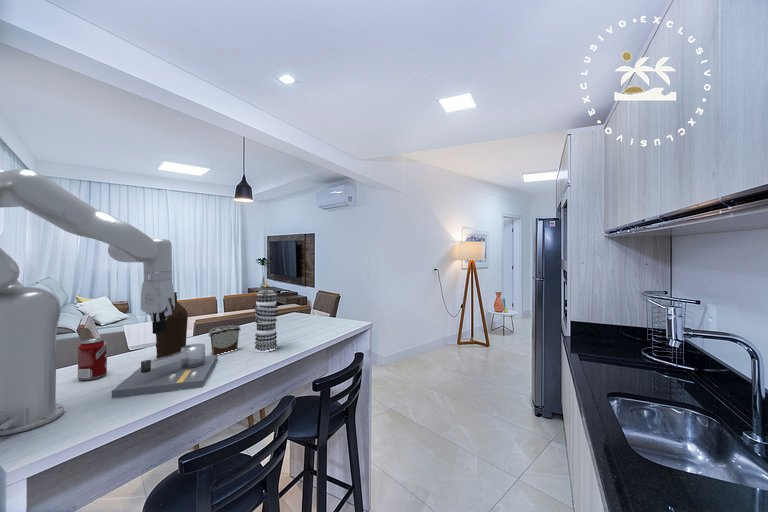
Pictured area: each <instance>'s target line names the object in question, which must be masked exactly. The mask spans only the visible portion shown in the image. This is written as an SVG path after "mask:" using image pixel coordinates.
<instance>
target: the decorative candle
mask: <svg viewBox="0 0 768 512" xmlns="http://www.w3.org/2000/svg"><path fill="white" fill-rule="evenodd" d="M255 295H256V301H255V304H256V306H255V307H254V314H255V316H254V318H255V320H254V322H255V324H256V329H255V334H254V335H255V338H254V339H255V341H254V344H255V346H254V348H255V350H256V349H257V350H260V351H265V350H270V349H274V348H275V347H276V348H277V346H278V344H277V342H278V340H277V337H278V336H277V334H278V332H277V327H276V326H277V325H276V323H277V322H278V319H277V318H276V317H278V310H276V309H277V308H278V307H279V306H278V303H277V293H276V292H275V291H274V290H272V289H261V290H259V291H257V293H256V294H255Z"/></svg>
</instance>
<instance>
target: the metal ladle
mask: <svg viewBox="0 0 768 512" xmlns="http://www.w3.org/2000/svg"><path fill="white" fill-rule="evenodd" d="M205 356H206V344H205V343H190V344H186V346H183V347H181V352H178V353H174V354H171V355H168V356H164V357H161V358H154V359H152V360H151V359H146V360H142V361H141V362H140V367H141V373H147V372H150V371H151V369H154V368H157V367H160V366H163V365H166V364H169V363H172V362H175V361H178V360H181V367H184V368H190V367H196V366H200V365H202V364H204V363H205Z"/></svg>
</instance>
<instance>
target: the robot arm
mask: <svg viewBox="0 0 768 512" xmlns="http://www.w3.org/2000/svg"><path fill="white" fill-rule="evenodd" d="M19 207H20V208H23V209H25V210H26V211H27V212H30V213H31V214H34V215H36V216H37V217H39V218H41V219H43V220H44V221H47V222H49V223H50V224H51V225H53V226H55V227H57V228H59V229H61V230H62V231H64V232H66V233H70V234H72V235H75V236H79V237H83V238H88V239H93V240H96V241H99V242H103V243H105V244H107V245H108V248H107V252H108V255H109V256H110V257H111V259H113V260H114V261H117V262H120V263H142V264H143V267H142V268H143V270H142V271H143V272H142V273H143V281H142V286H141V291H140V310H141V311H142V312H144V313H145V314H146V315H148V316H150V321H151V322H152V323H151V324H152V334H154V335H156V334H160V333H164V332H166V320H167V317H168V316H170V315H172V310H174V308H175V296H174V292H175V288H174V282H173V249H172V248H173V246H172V241H171V240H170V239H166V238H165V239H164V238H152V237H150V236H149V235H147V234H146V233H144V232H143V231H142V230H140V229H139V228H137V227H135V226H134V225H132V224H130V223H128V222H126V221H125V220H121V219H120V218H117V217H114V216H112V215H110V214H108V213H106V212H104V211H102V210H99V209H97V208H95V207H93V206H92V205H90V204H88V203H87V202H85V201H84V200H83V199H81V198H79V197H78V196H76V195H75V194H73V193H71V192H70V191H69V190H67V189H65V188H63V186H61V185H59V184H57V182H54V181H53V180H51V179H50V178H48V177H47V176H45V175H43V174H41V173H39V172H37V171H35V170H32V169H28V168H16V169H15V168H14V169H10V170H5V171H0V209H1V208H19ZM20 270H21V269H20V266H19V265H18V264H17V262H16V261H15V260H14V259H13V258H12V257H11V256H10V255H9V254H8V253H7V252H5V250H3V249H2V248H1V247H0V436H1V437H2V436H9V435H13V434H17V433H22V432H26V431H30V430H32V429H35V428H39V427H40V426H44V425H46V424H48V423H51V422H53V421H54V420H55V421H56V420H57V419H58V418H60V417H61V416H62V415H63V414H64V413H65V406H64V405H63V404H59V403H57V402H56V399H57V398H56V397H57V396H56V393H57V391H56V389H57V388H56V387H57V385H56V384H57V331H58V326H59V321H60V317H61V309H62V308H61V303H60V300H59V299H58V297H57V296H56V295H55V294H53V292H52V291H51V292H50V291H49V290H46V289H45V288H39V287H31V286H25V285H23V284H22V283H21V282H20V281H19V277H20Z"/></svg>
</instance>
